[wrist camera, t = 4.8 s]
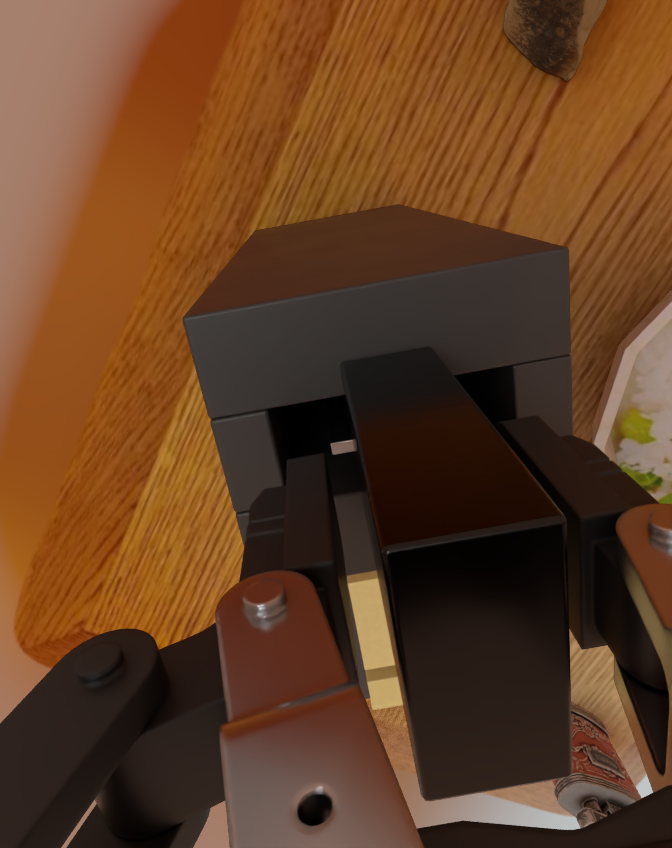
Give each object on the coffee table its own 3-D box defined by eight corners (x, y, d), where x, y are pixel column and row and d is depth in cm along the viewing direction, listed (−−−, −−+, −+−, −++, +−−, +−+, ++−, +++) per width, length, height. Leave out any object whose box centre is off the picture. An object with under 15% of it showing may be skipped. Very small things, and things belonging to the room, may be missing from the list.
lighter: (613, 723, 48) (688, 852, 39) (585, 750, 49) (652, 881, 40) (538, 685, 46) (598, 812, 37) (510, 714, 47) (562, 844, 38)
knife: (327, 388, 23) (385, 812, 8) (308, 287, 22) (333, 559, 6) (402, 375, 23) (613, 773, 8) (388, 272, 22) (617, 507, 6)
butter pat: (366, 665, 43) (372, 710, 39) (361, 638, 42) (367, 682, 38) (435, 653, 43) (448, 697, 39) (431, 626, 42) (444, 669, 38)
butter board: (338, 690, 45) (343, 751, 41) (297, 509, 39) (297, 556, 34) (468, 668, 45) (489, 726, 40) (448, 483, 39) (469, 525, 34)
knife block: (280, 353, 35) (256, 593, 15) (254, 230, 32) (181, 317, 12) (414, 329, 35) (575, 536, 15) (399, 204, 32) (570, 246, 12)
